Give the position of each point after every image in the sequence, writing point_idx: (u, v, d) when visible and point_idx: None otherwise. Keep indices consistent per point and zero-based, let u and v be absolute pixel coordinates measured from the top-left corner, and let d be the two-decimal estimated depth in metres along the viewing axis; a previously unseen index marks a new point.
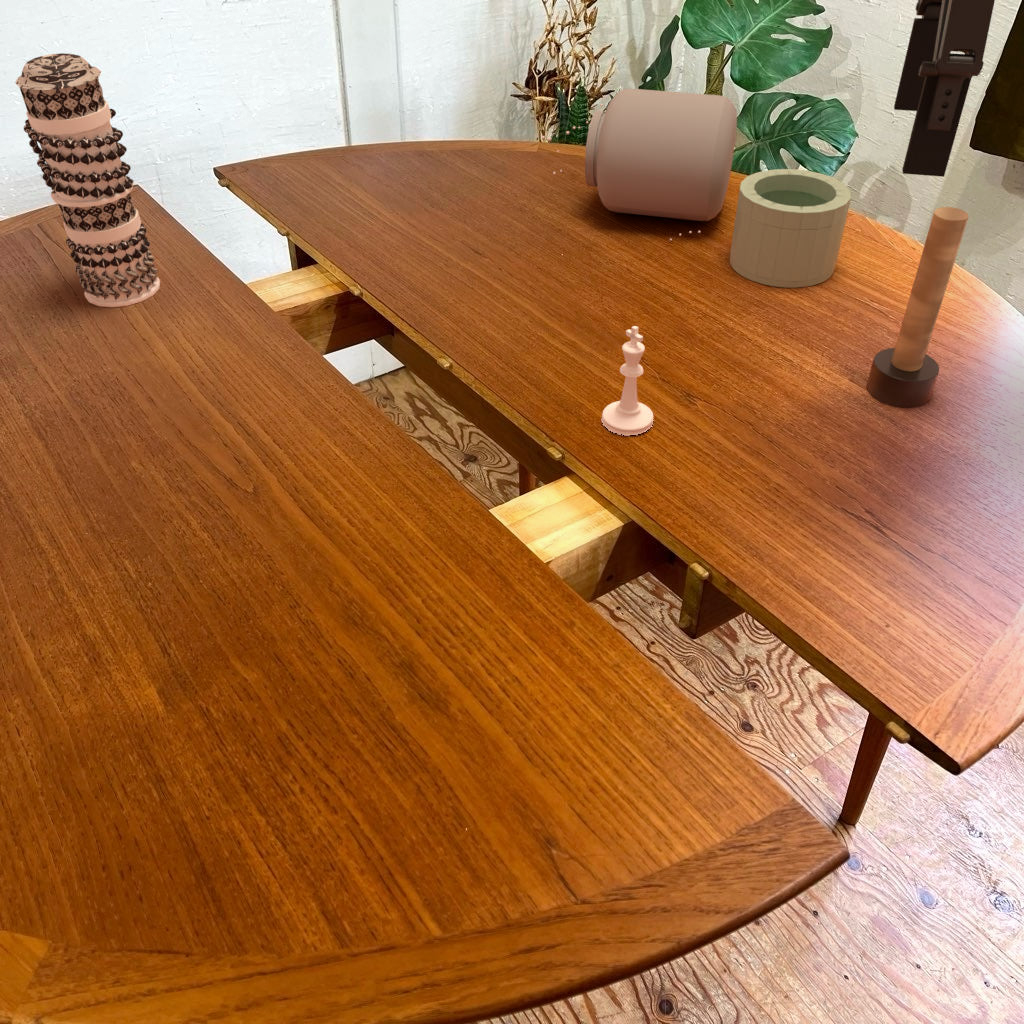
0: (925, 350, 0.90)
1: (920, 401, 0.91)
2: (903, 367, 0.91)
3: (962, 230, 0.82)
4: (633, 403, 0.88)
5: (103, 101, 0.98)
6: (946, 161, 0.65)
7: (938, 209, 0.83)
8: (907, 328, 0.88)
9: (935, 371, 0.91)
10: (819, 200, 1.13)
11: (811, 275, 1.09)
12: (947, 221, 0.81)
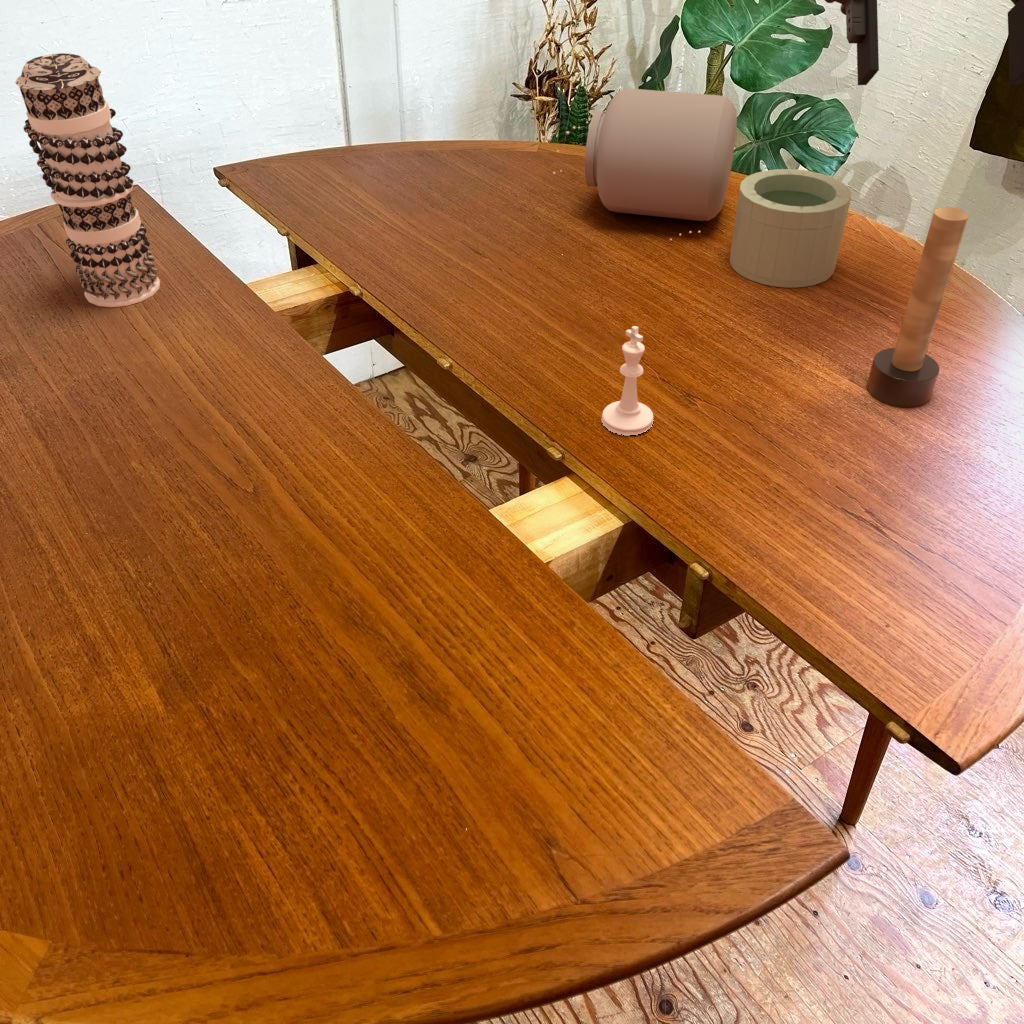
0: (925, 350, 0.90)
1: (920, 401, 0.91)
2: (903, 367, 0.91)
3: (962, 230, 0.82)
4: (633, 403, 0.88)
5: (103, 101, 0.98)
6: (869, 58, 0.82)
7: (938, 209, 0.83)
8: (907, 328, 0.88)
9: (935, 371, 0.91)
10: (819, 200, 1.13)
11: (811, 275, 1.09)
12: (947, 221, 0.81)
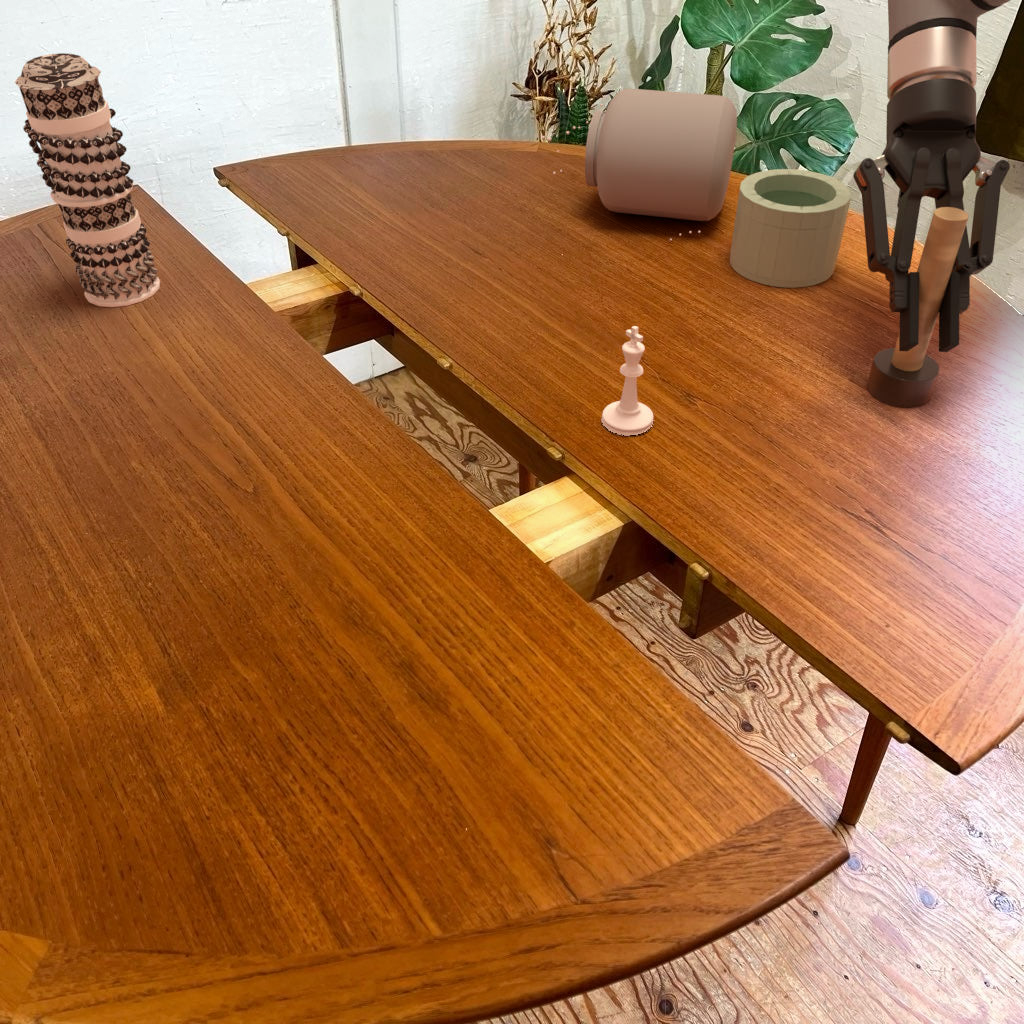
0: (925, 350, 0.90)
1: (920, 401, 0.91)
2: (903, 367, 0.91)
3: (962, 230, 0.82)
4: (633, 403, 0.88)
5: (102, 100, 0.98)
6: (909, 332, 0.85)
7: (938, 209, 0.83)
8: None
9: (935, 371, 0.91)
10: (819, 200, 1.13)
11: (811, 275, 1.09)
12: (947, 221, 0.81)
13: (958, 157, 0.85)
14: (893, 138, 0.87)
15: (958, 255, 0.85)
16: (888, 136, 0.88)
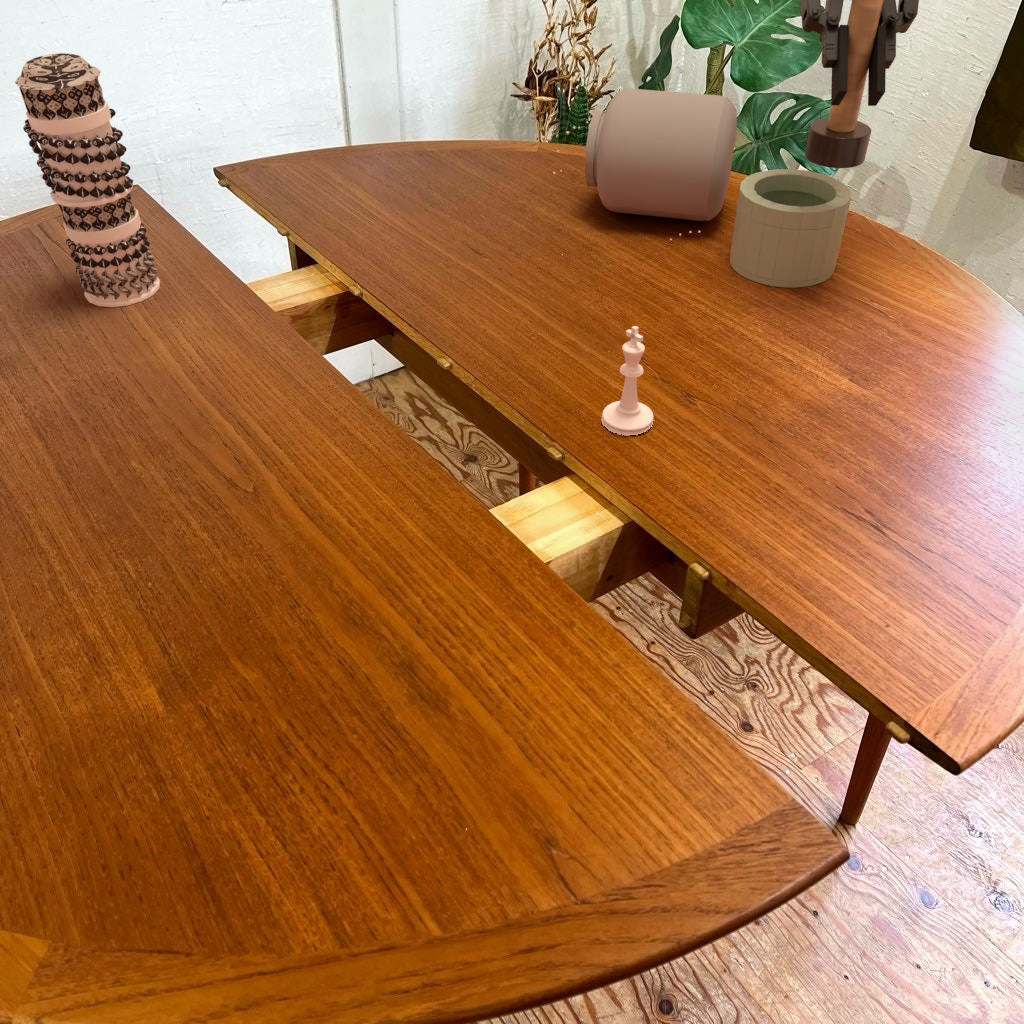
0: (857, 109, 0.95)
1: (853, 162, 0.97)
2: (837, 128, 0.96)
3: None
4: (633, 403, 0.88)
5: (102, 101, 0.98)
6: (839, 80, 0.91)
7: None
8: None
9: (867, 132, 0.96)
10: (819, 200, 1.13)
11: (811, 275, 1.09)
12: None
13: None
14: None
15: (885, 9, 0.91)
16: None
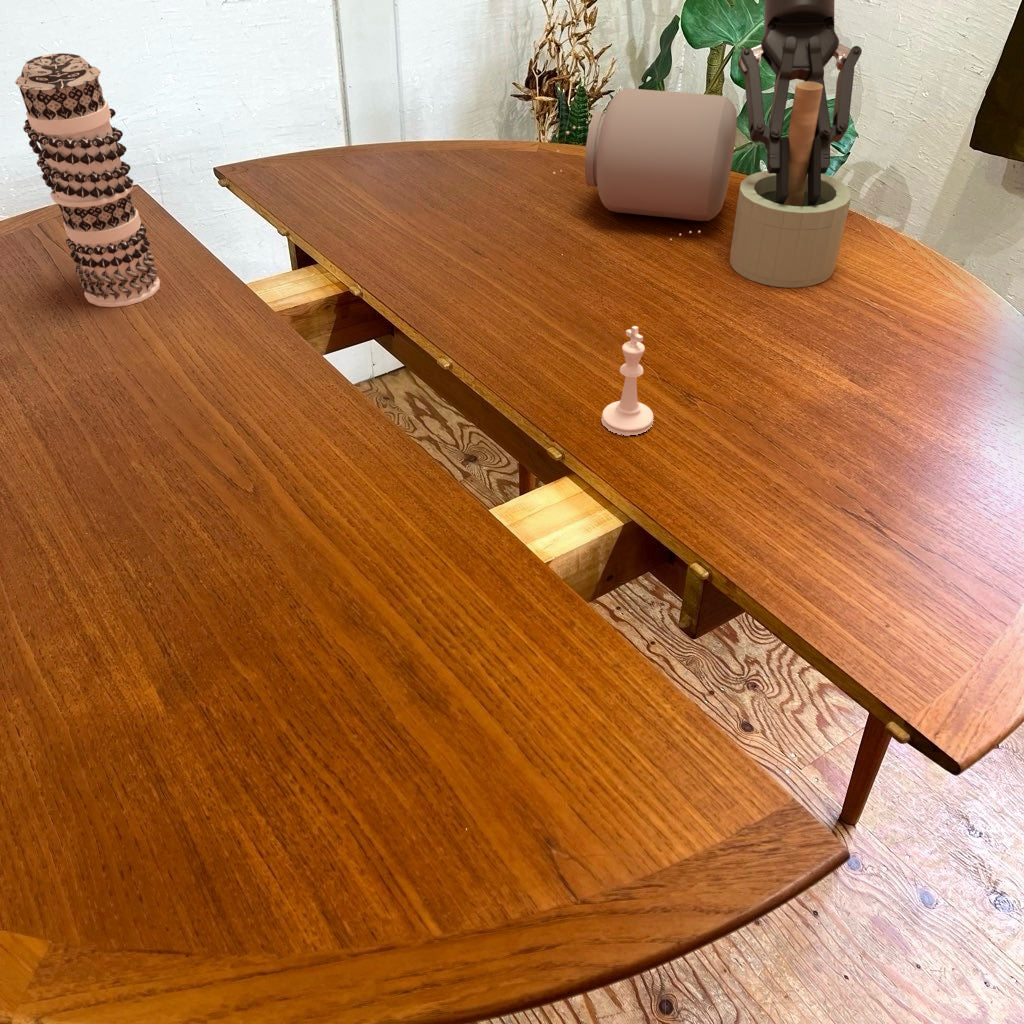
0: None
1: None
2: None
3: (818, 98, 1.01)
4: (633, 403, 0.88)
5: (102, 101, 0.98)
6: (781, 186, 1.04)
7: (799, 83, 1.02)
8: None
9: None
10: (819, 200, 1.13)
11: (811, 275, 1.09)
12: (805, 91, 1.00)
13: (819, 43, 1.05)
14: (767, 30, 1.06)
15: (820, 123, 1.05)
16: (764, 30, 1.07)
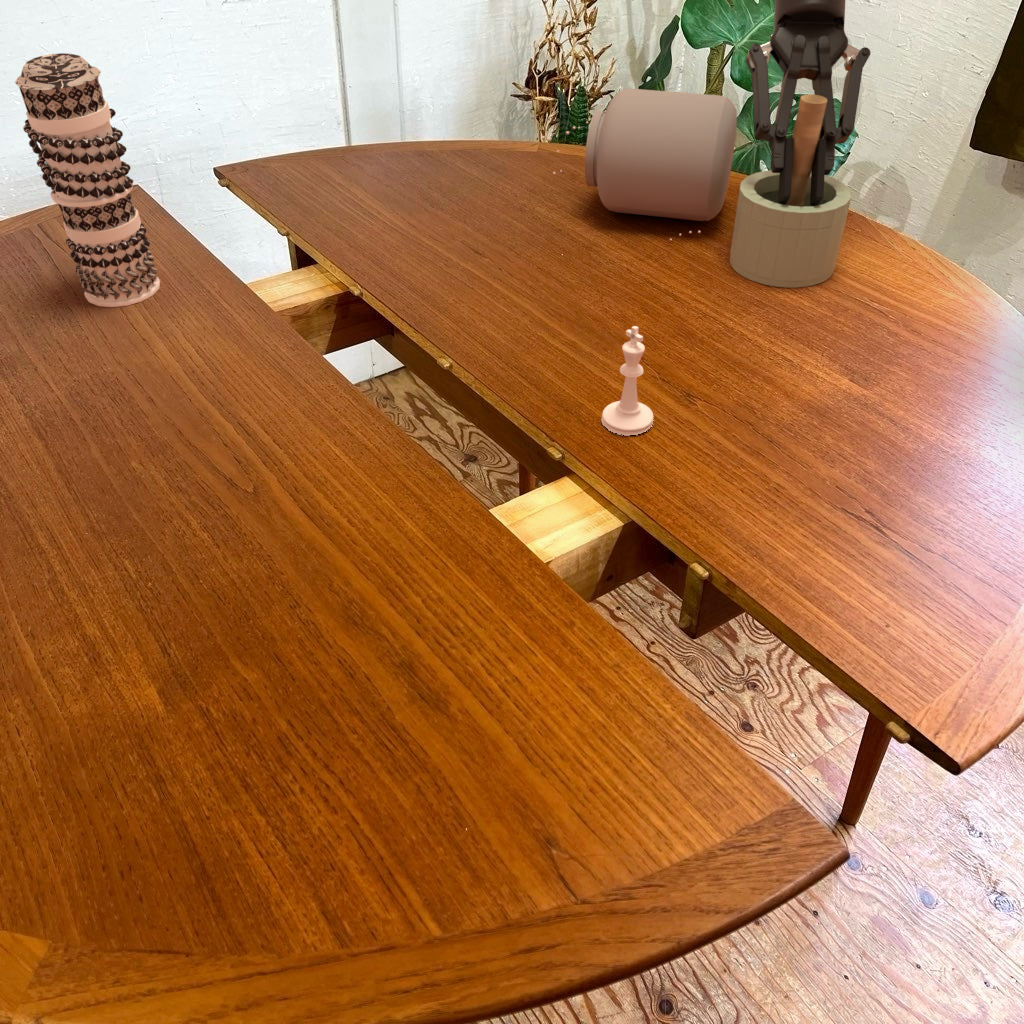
0: None
1: None
2: None
3: (822, 112, 1.02)
4: (633, 403, 0.88)
5: (102, 101, 0.98)
6: (783, 186, 1.04)
7: (804, 95, 1.03)
8: None
9: None
10: None
11: (811, 275, 1.09)
12: (809, 104, 1.01)
13: (828, 43, 1.04)
14: (777, 28, 1.05)
15: (826, 124, 1.04)
16: (774, 27, 1.06)
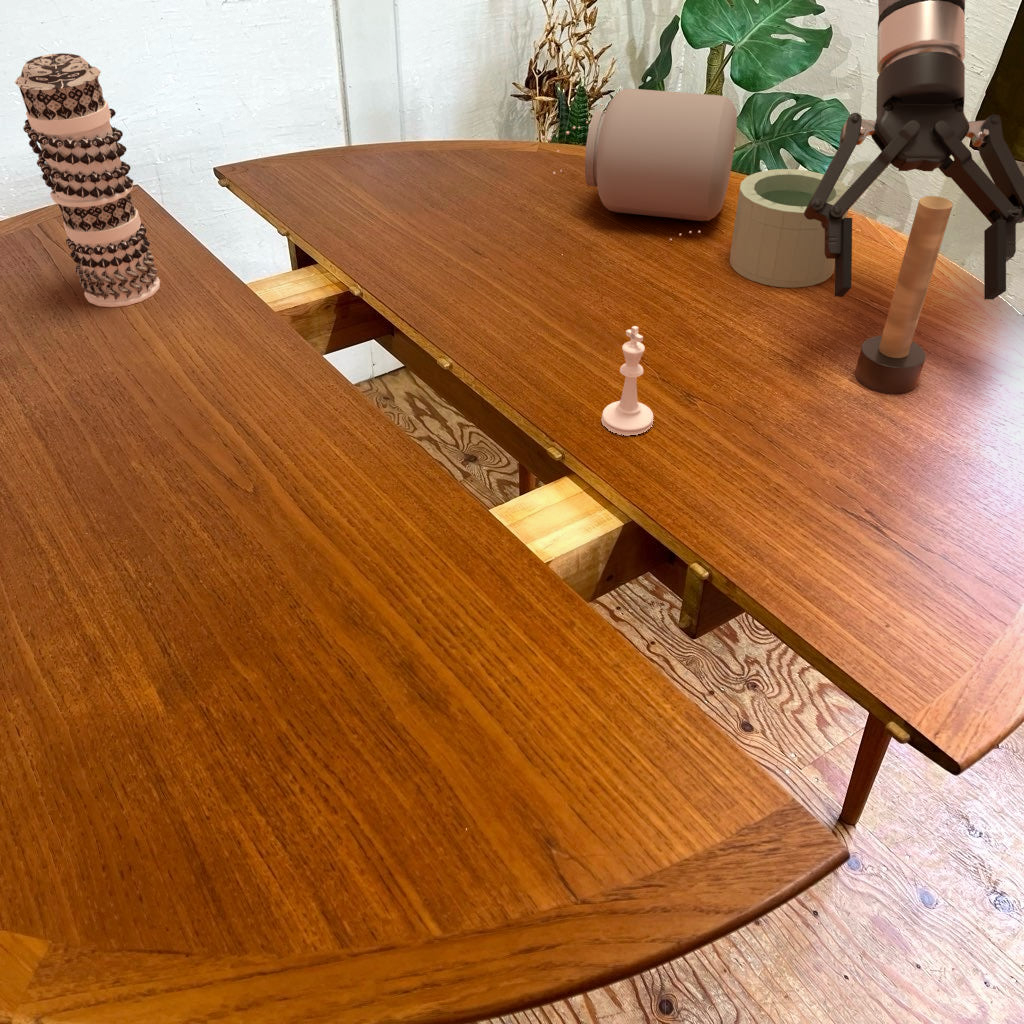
0: (911, 337, 0.91)
1: (907, 387, 0.93)
2: (890, 354, 0.92)
3: (946, 218, 0.84)
4: (633, 403, 0.88)
5: (102, 101, 0.98)
6: (842, 276, 0.87)
7: (923, 198, 0.84)
8: (894, 316, 0.90)
9: (921, 358, 0.92)
10: None
11: (811, 275, 1.09)
12: (932, 210, 0.83)
13: (947, 130, 0.87)
14: (883, 111, 0.88)
15: (1000, 207, 0.87)
16: (878, 110, 0.89)
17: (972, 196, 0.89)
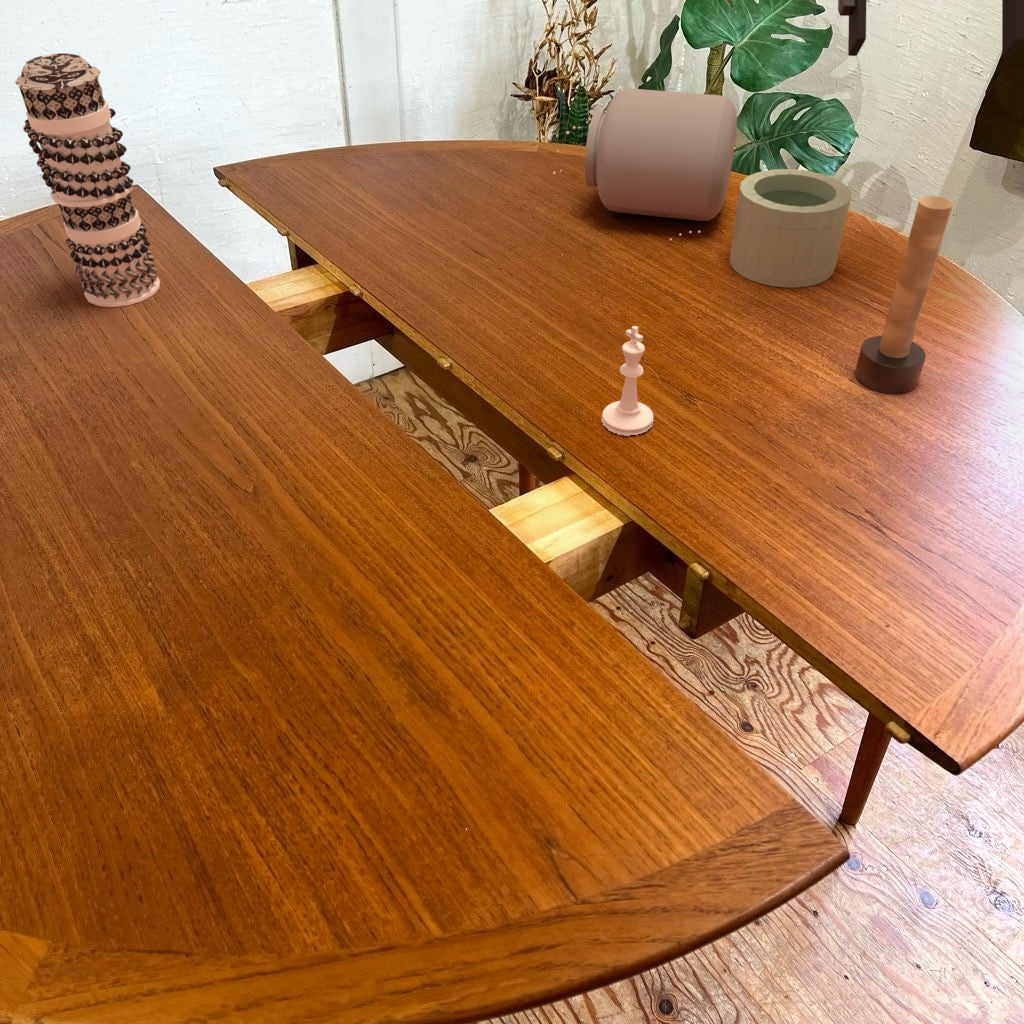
0: (911, 337, 0.91)
1: (907, 387, 0.93)
2: (890, 354, 0.92)
3: (946, 218, 0.84)
4: (633, 403, 0.88)
5: (102, 101, 0.98)
6: (856, 28, 0.85)
7: (923, 198, 0.84)
8: (894, 316, 0.90)
9: (921, 358, 0.92)
10: (819, 200, 1.13)
11: (811, 275, 1.09)
12: (932, 210, 0.83)
13: None
14: None
15: None
16: None
17: None
